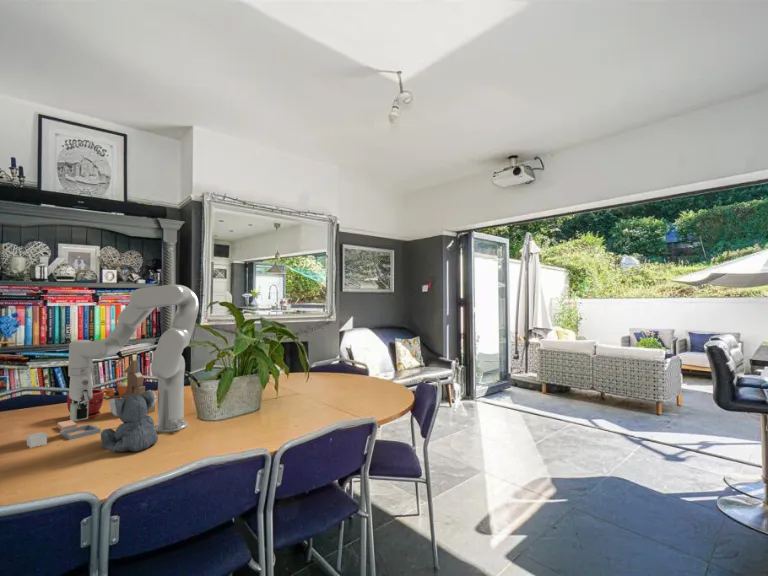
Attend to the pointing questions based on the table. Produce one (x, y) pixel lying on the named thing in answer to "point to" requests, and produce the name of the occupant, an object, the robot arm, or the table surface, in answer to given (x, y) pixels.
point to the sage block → (75, 412)
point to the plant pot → (91, 404)
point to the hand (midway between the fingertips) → (79, 416)
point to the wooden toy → (135, 382)
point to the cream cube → (36, 439)
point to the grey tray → (88, 430)
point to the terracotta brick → (67, 425)
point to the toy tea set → (110, 392)
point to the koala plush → (131, 424)
